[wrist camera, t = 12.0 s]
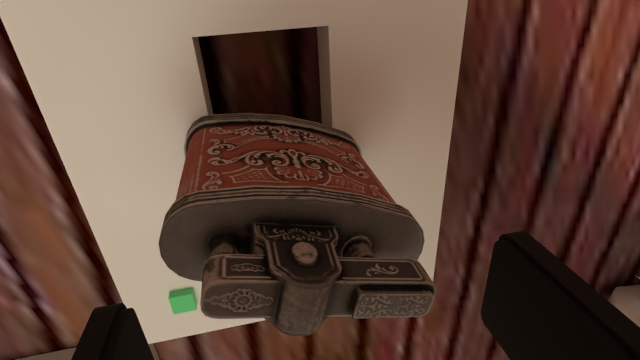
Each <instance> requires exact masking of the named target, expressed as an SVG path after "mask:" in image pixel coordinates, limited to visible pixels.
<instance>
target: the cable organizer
mask: <svg viewBox="0 0 640 360" xmlns="http://www.w3.org/2000/svg"><path fill="white" fill-rule="evenodd" d="M636 277H637V278H639V279H640V277H638V276H636ZM608 301H609V302H610V303H611V304H613V305H614V306H615V307H616V308H617V309H619V310H620V311H621V312H622V313H623V314H624V315H626V316H627V317H628V318H629V319H630V320H632V321H633V322H634V323H635V324H636V325H638V326H639V327H640V285H630V286H620V287H616V288H615V289H614V291H613V292H612V294H611V296H610V298H609V299H608Z"/></svg>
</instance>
